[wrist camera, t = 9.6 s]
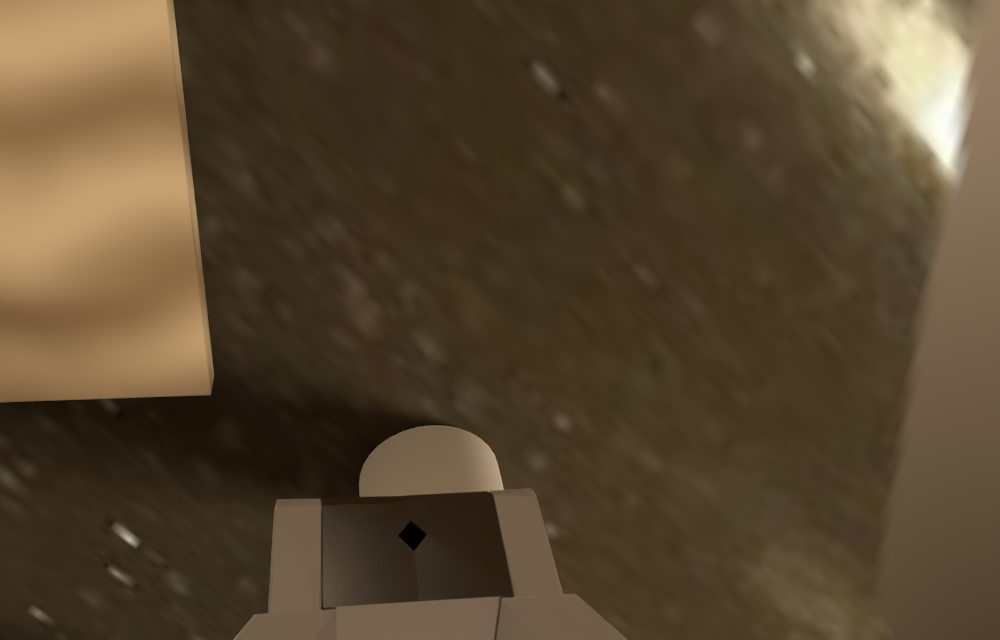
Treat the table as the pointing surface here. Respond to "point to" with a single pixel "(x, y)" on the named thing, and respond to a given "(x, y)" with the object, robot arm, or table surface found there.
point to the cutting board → (97, 206)
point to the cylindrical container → (430, 464)
